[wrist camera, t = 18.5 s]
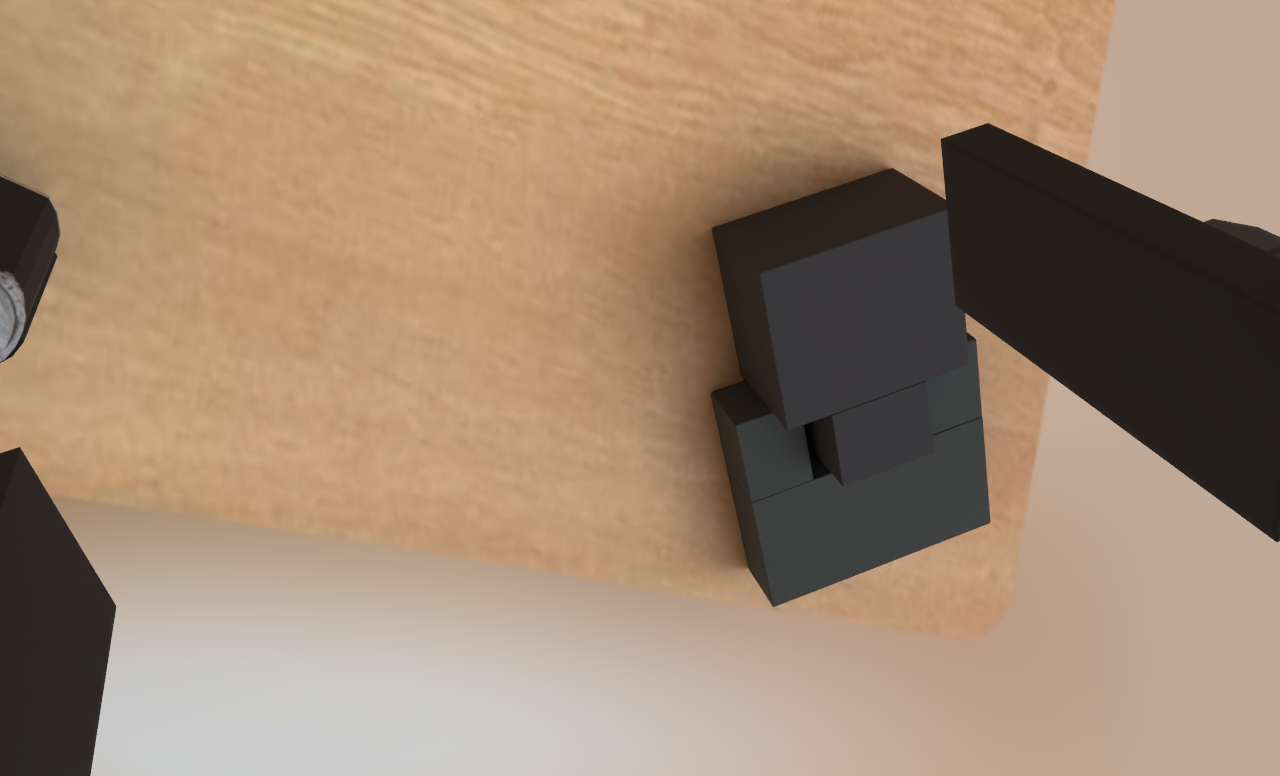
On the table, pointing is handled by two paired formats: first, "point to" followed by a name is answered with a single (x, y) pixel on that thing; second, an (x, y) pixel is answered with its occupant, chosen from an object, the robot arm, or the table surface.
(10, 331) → the camera
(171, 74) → the table surface
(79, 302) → the table surface
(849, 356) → the pad
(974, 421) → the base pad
